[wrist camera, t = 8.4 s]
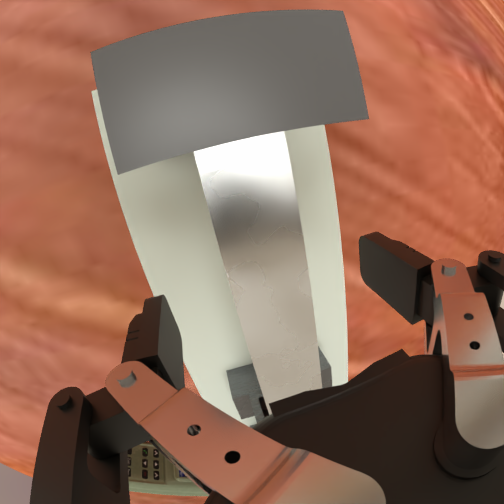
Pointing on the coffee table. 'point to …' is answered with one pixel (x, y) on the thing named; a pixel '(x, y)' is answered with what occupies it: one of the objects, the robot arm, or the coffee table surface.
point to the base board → (211, 265)
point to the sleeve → (249, 391)
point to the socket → (225, 82)
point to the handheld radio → (157, 474)
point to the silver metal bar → (264, 259)
